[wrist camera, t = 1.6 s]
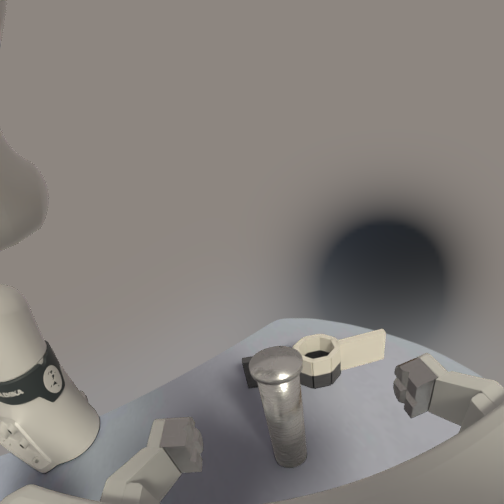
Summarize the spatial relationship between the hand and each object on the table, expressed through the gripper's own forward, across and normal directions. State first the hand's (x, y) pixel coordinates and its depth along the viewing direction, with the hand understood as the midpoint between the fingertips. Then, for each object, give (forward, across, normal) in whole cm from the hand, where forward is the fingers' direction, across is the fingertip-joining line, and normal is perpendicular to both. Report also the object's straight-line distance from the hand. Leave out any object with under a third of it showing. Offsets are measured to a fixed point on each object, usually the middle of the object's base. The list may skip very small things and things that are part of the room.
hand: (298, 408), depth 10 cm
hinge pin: (+12, +1, +21) cm, 24 cm away
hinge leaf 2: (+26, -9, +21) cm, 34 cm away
